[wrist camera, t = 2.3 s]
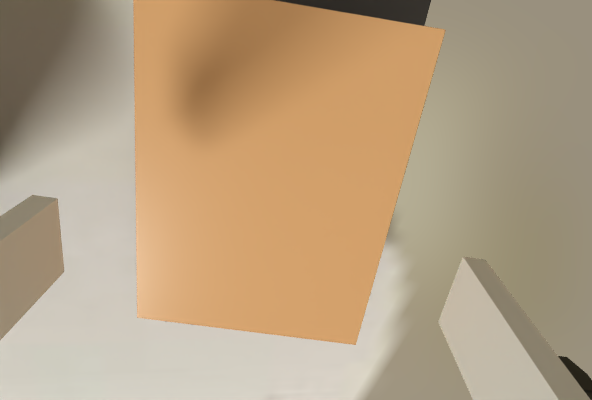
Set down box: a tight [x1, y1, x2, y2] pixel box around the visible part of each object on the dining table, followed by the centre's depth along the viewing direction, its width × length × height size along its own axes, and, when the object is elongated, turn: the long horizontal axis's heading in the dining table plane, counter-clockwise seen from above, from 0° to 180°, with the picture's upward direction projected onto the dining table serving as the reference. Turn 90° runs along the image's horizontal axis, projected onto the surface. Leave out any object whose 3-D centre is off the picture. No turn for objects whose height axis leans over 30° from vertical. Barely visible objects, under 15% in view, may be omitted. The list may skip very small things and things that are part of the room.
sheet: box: [134, 0, 445, 345], centre depth 18 cm, size 15×11×1 cm
